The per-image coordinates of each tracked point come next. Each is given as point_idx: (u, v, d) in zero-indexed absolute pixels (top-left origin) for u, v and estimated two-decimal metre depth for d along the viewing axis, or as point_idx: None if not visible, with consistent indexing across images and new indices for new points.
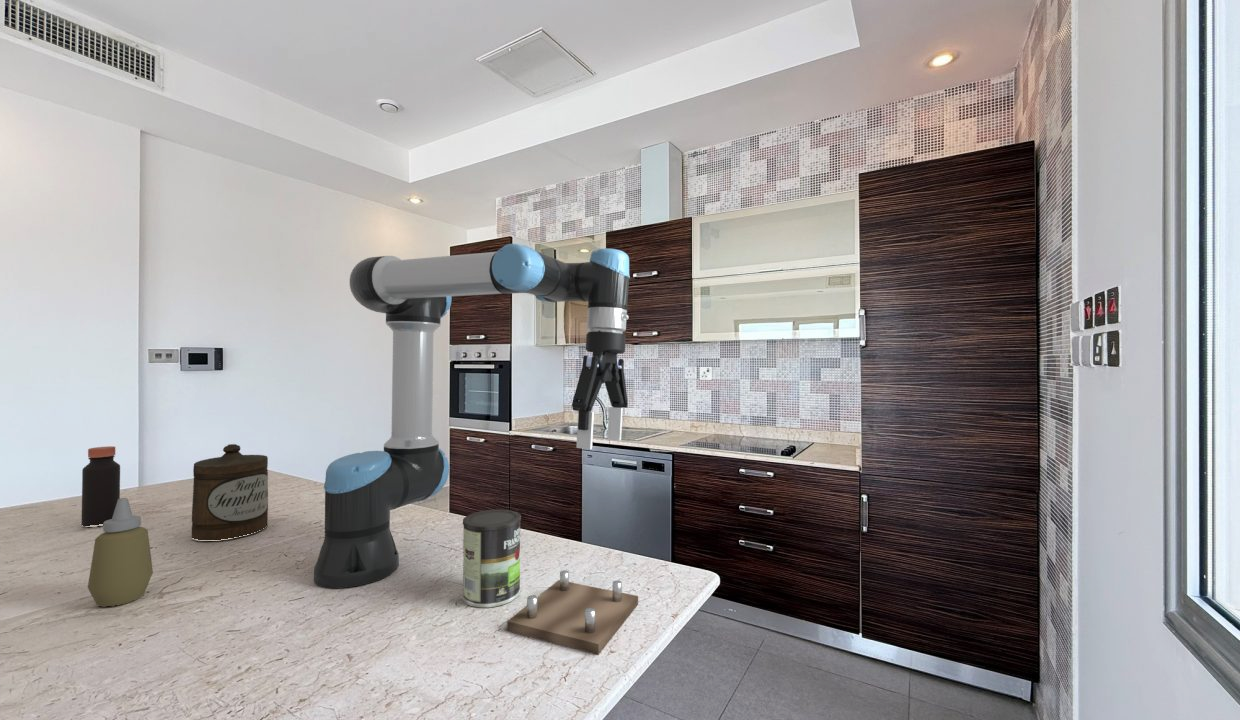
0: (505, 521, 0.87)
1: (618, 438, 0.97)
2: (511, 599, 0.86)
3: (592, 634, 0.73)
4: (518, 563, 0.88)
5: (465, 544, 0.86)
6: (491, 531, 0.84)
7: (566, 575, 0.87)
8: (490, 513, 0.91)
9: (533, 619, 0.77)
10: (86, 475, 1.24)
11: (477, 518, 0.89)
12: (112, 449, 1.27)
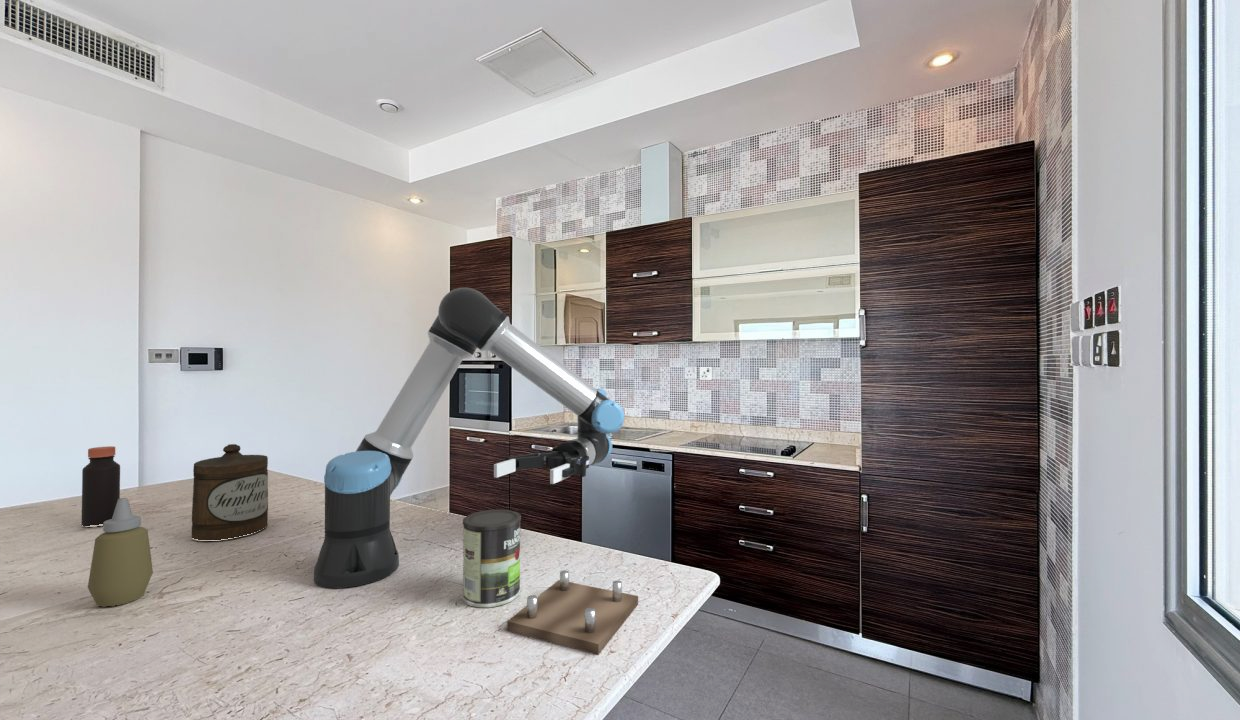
0: (505, 521, 0.87)
1: (498, 475, 1.00)
2: (511, 599, 0.86)
3: (592, 634, 0.73)
4: (518, 563, 0.88)
5: (465, 544, 0.86)
6: (491, 531, 0.84)
7: (566, 575, 0.87)
8: (490, 513, 0.91)
9: (533, 619, 0.77)
10: (86, 475, 1.24)
11: (477, 518, 0.89)
12: (112, 449, 1.27)
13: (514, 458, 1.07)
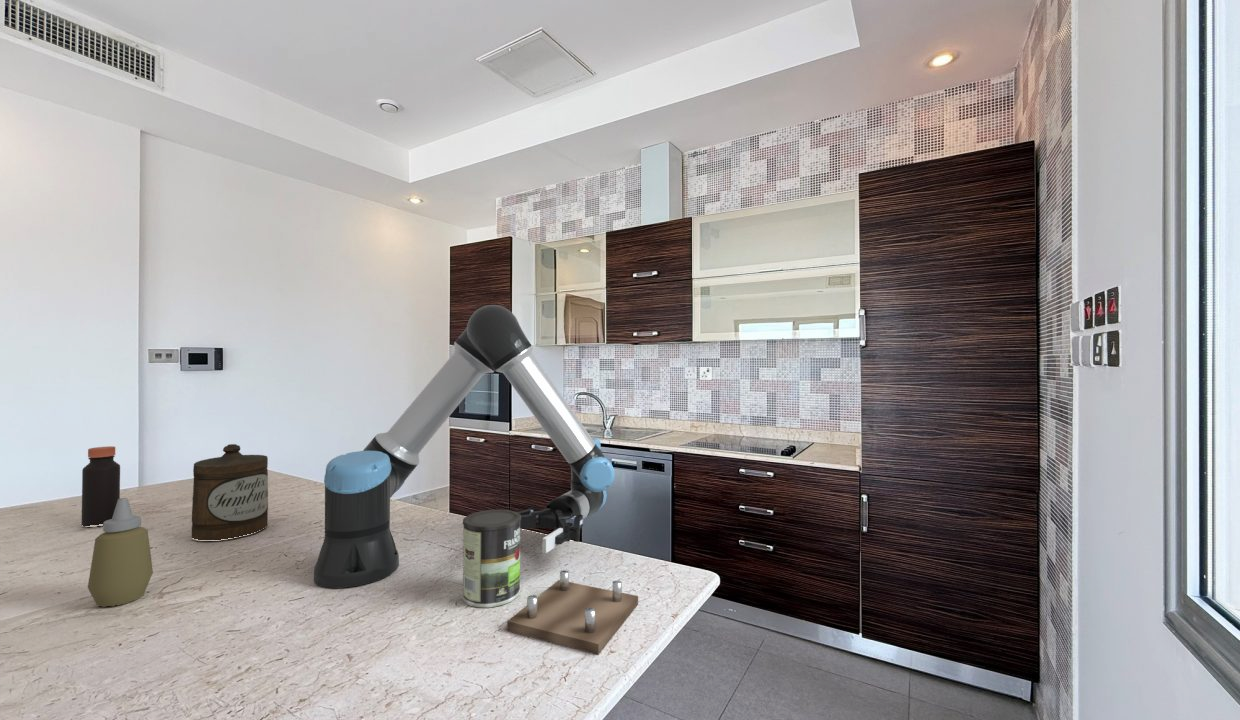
0: (505, 521, 0.87)
1: None
2: (511, 599, 0.86)
3: (592, 634, 0.73)
4: (518, 563, 0.88)
5: (465, 544, 0.86)
6: (491, 531, 0.84)
7: (566, 575, 0.87)
8: (490, 513, 0.91)
9: (533, 619, 0.77)
10: (86, 475, 1.24)
11: (477, 518, 0.89)
12: (112, 449, 1.27)
13: None
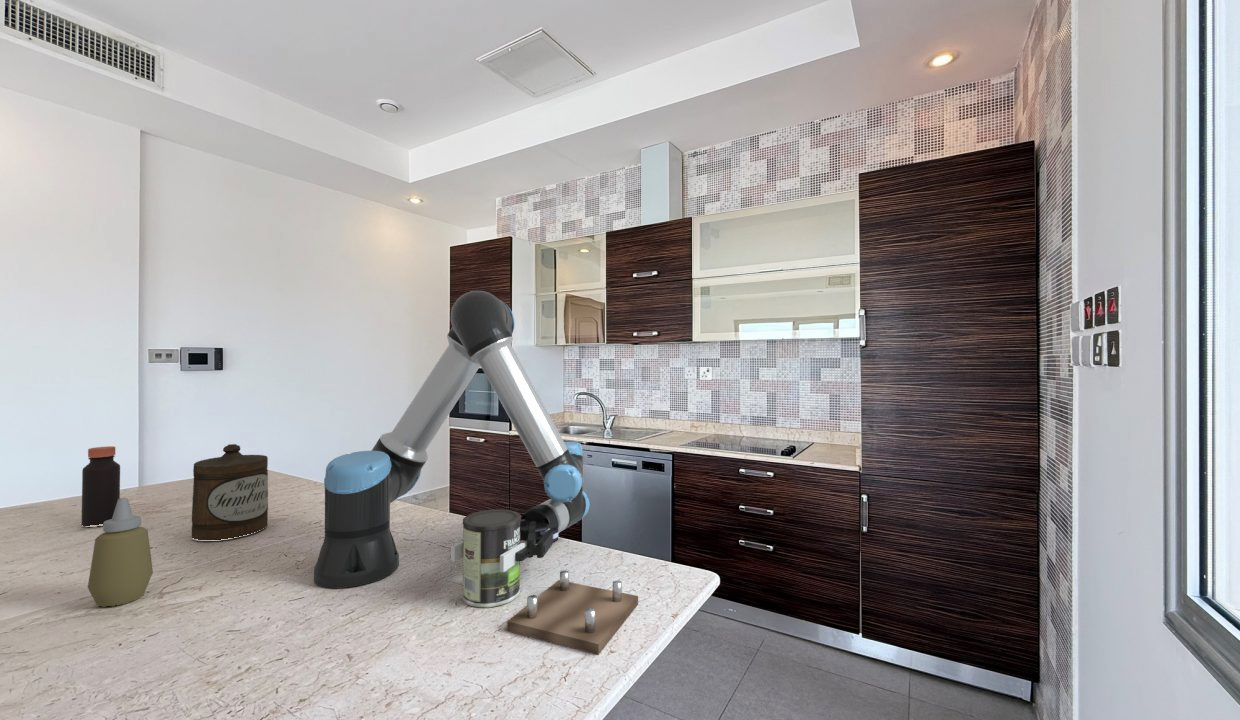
0: (505, 521, 0.87)
1: (455, 559, 0.87)
2: (511, 599, 0.86)
3: (592, 634, 0.73)
4: (518, 563, 0.88)
5: (465, 544, 0.86)
6: (491, 531, 0.84)
7: (566, 575, 0.87)
8: (490, 513, 0.91)
9: (533, 619, 0.77)
10: (86, 475, 1.24)
11: (477, 518, 0.89)
12: (112, 449, 1.27)
13: None
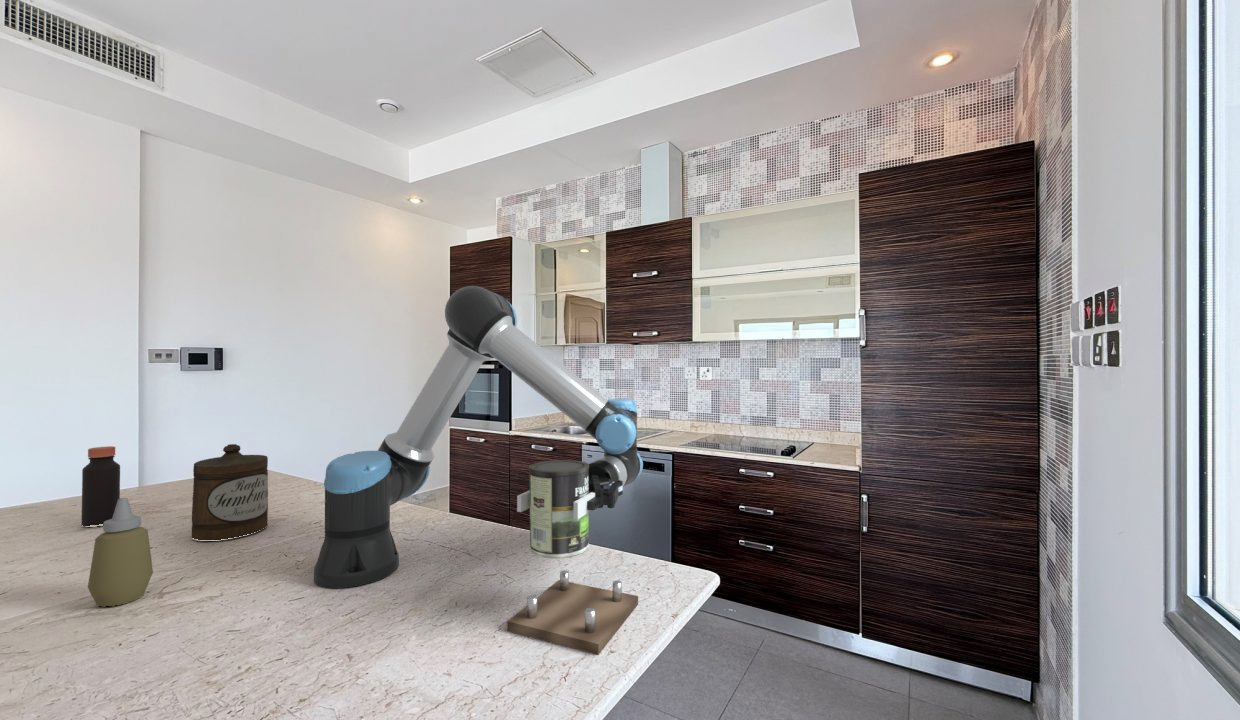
0: (574, 468, 0.81)
1: (522, 509, 0.82)
2: (582, 550, 0.80)
3: (592, 634, 0.73)
4: (588, 513, 0.83)
5: (533, 492, 0.80)
6: (562, 477, 0.78)
7: (566, 575, 0.87)
8: (554, 463, 0.86)
9: (533, 619, 0.77)
10: (86, 475, 1.24)
11: (543, 466, 0.83)
12: (112, 449, 1.27)
13: None
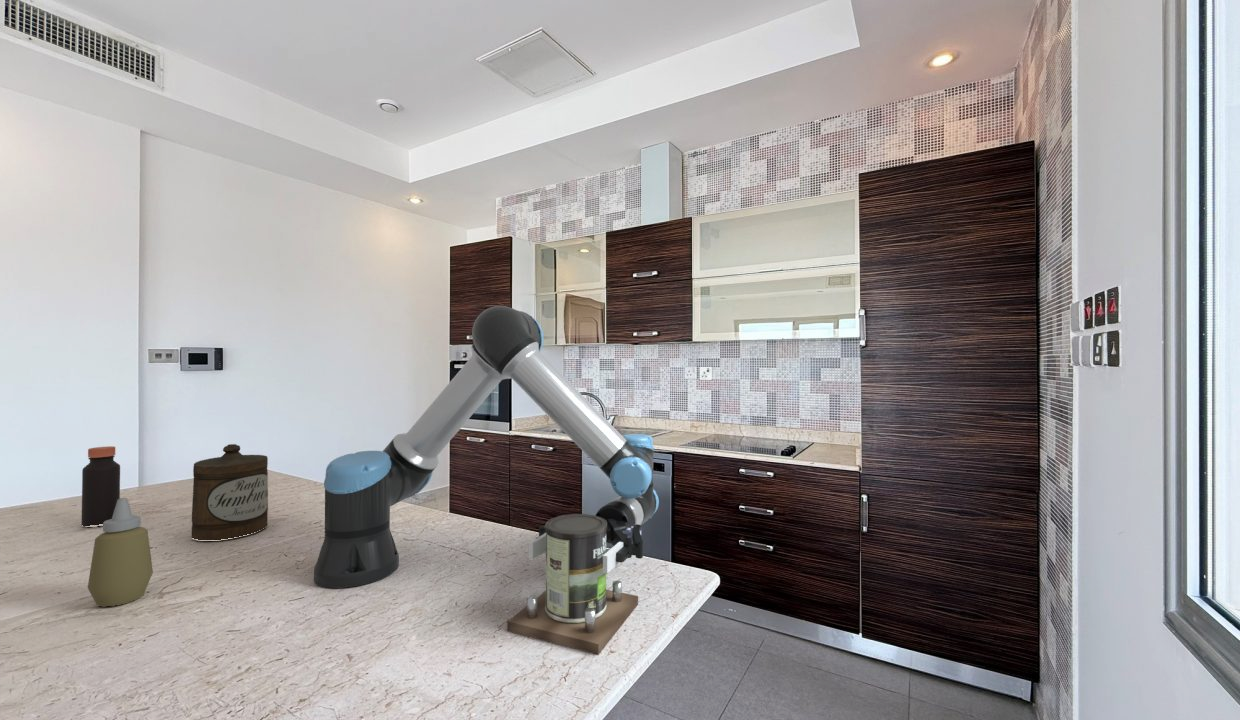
0: (592, 527, 0.79)
1: (534, 557, 0.81)
2: (600, 613, 0.78)
3: (592, 634, 0.73)
4: None
5: (550, 553, 0.78)
6: (580, 539, 0.76)
7: None
8: (571, 518, 0.83)
9: (533, 619, 0.77)
10: (86, 475, 1.24)
11: (560, 523, 0.81)
12: (112, 449, 1.27)
13: None
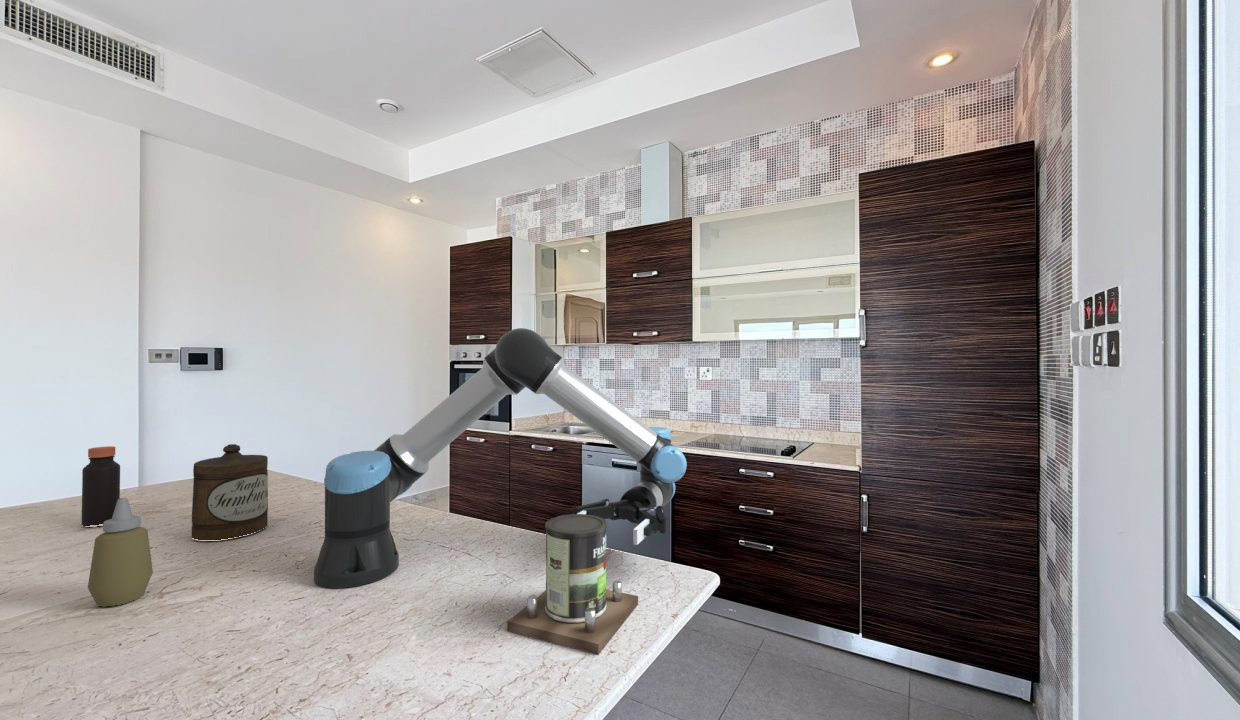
0: (592, 527, 0.79)
1: None
2: (600, 613, 0.78)
3: (592, 634, 0.73)
4: (605, 573, 0.80)
5: (550, 552, 0.78)
6: (580, 538, 0.76)
7: None
8: (571, 518, 0.84)
9: (533, 619, 0.77)
10: (86, 475, 1.24)
11: (560, 523, 0.81)
12: (112, 449, 1.27)
13: (584, 509, 0.99)
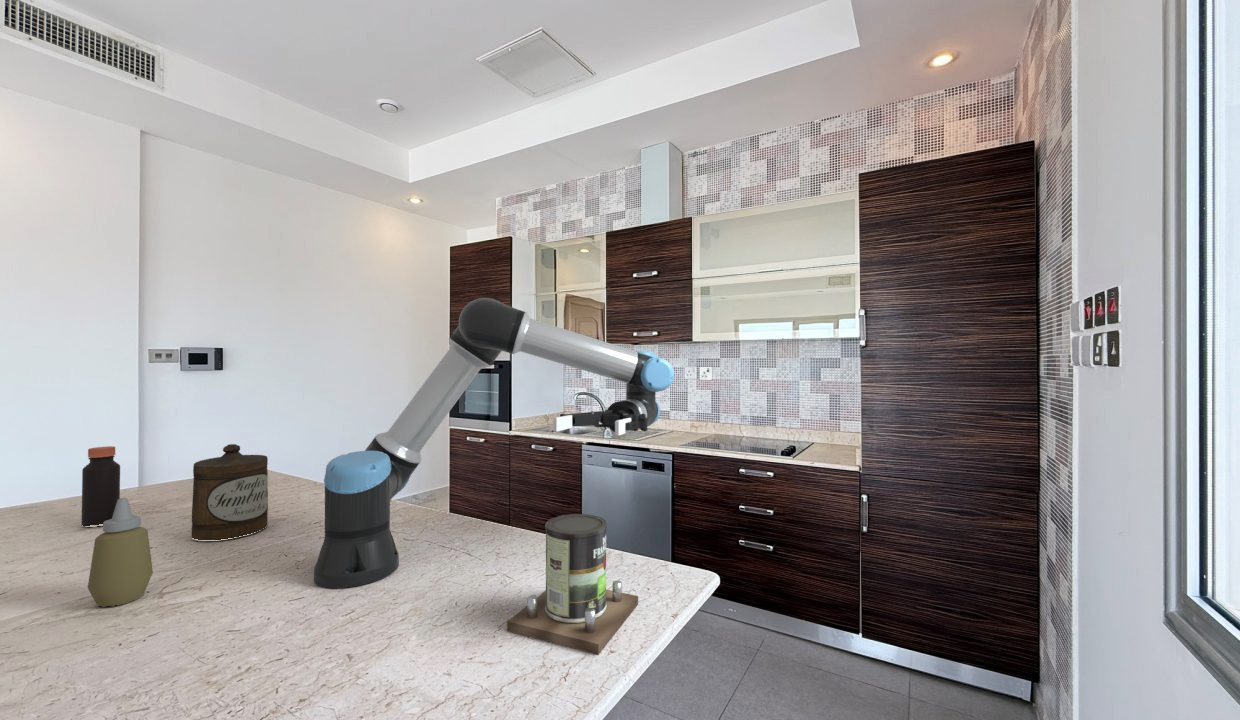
0: (592, 527, 0.79)
1: (557, 430, 0.97)
2: (600, 613, 0.78)
3: (592, 634, 0.73)
4: (605, 573, 0.80)
5: (550, 553, 0.78)
6: (580, 539, 0.76)
7: None
8: (571, 518, 0.83)
9: (533, 619, 0.77)
10: (86, 475, 1.24)
11: (560, 523, 0.81)
12: (112, 449, 1.27)
13: None
